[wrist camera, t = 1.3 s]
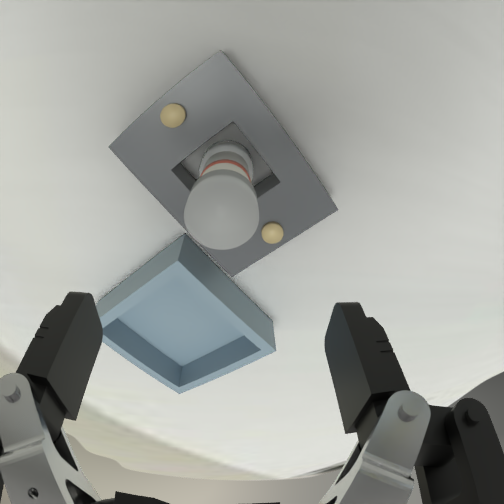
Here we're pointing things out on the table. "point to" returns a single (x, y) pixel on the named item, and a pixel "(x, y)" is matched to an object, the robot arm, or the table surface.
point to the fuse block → (201, 130)
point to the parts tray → (184, 319)
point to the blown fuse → (223, 198)
